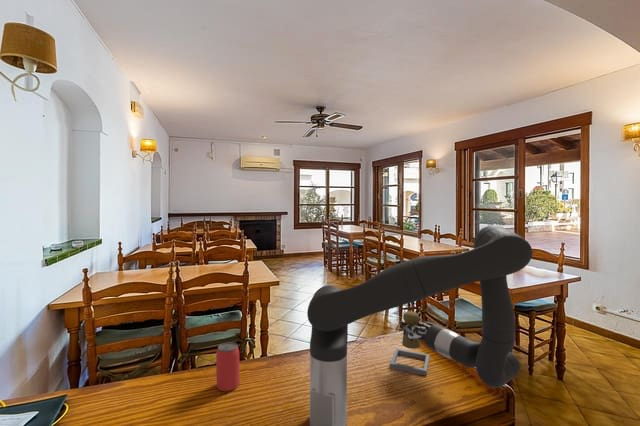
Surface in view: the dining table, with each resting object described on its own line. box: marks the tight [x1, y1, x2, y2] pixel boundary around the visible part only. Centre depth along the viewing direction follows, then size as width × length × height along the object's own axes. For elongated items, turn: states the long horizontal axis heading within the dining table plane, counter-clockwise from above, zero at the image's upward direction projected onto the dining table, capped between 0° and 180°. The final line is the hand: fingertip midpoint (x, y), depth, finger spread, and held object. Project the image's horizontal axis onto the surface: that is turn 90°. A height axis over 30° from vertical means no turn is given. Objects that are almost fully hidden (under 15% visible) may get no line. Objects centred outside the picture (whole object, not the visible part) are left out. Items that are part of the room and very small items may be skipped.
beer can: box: [215, 341, 240, 392], centre depth 93 cm, size 7×7×12 cm
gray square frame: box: [389, 348, 430, 376], centre depth 106 cm, size 12×12×2 cm
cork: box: [401, 310, 421, 349], centre depth 106 cm, size 6×6×11 cm
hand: (405, 322), depth 108 cm, fingers closed on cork, 4 cm apart
